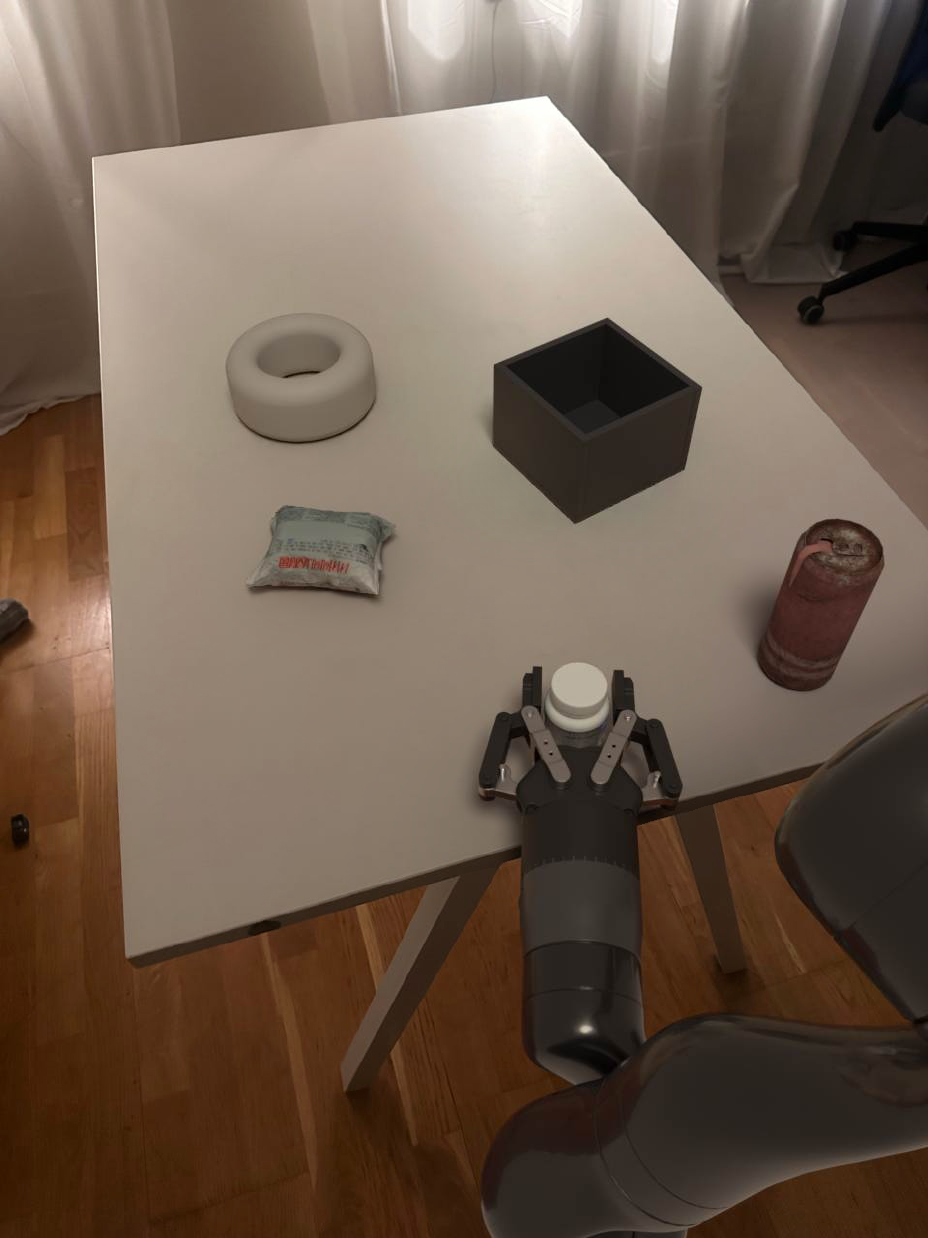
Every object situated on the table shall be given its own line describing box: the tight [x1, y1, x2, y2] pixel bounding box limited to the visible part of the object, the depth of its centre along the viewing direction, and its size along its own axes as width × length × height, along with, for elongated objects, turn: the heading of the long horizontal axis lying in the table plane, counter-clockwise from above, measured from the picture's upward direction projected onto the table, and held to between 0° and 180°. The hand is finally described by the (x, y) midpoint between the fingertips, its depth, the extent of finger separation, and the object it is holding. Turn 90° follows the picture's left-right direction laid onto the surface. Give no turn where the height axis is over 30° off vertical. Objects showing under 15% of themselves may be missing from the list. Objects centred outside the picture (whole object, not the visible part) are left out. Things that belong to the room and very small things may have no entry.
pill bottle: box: [542, 661, 610, 750], centre depth 70 cm, size 5×5×8 cm
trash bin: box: [492, 317, 703, 524], centre depth 91 cm, size 14×14×10 cm
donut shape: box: [225, 312, 377, 443], centre depth 99 cm, size 15×15×7 cm
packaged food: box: [244, 504, 397, 596], centre depth 84 cm, size 9×12×5 cm
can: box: [757, 518, 885, 691], centre depth 73 cm, size 6×6×14 cm
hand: (576, 675), depth 71 cm, fingers open, 5 cm apart
